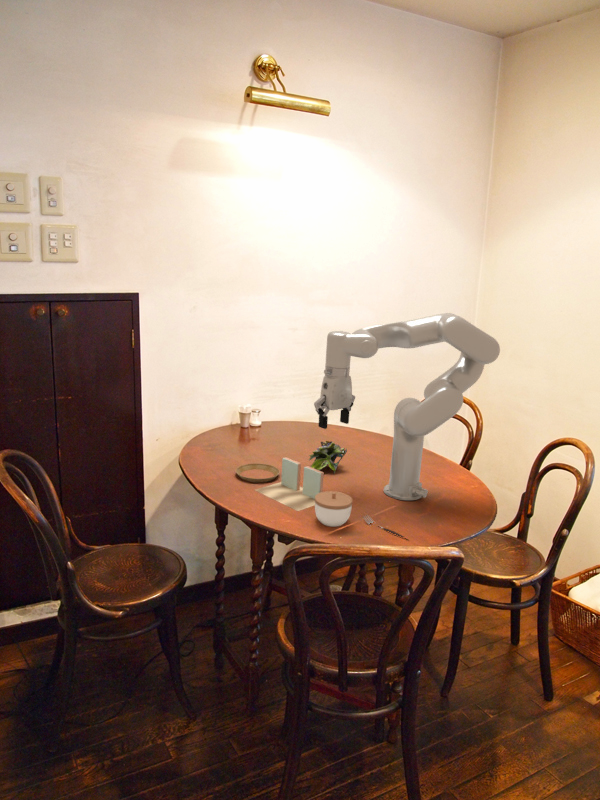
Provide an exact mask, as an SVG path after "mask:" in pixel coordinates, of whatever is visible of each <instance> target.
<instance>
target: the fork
mask: <svg viewBox="0 0 600 800" xmlns="http://www.w3.org/2000/svg"><path fill="white" fill-rule="evenodd" d="M362 518H363V519H364V520H365V522H366V523H367V524H368V525H369V524H370V523H373V522H375V520H374V519H372V517H370V515H369V514H366V515H365V516H362ZM380 527H381V528H380V529H382V528H383V529H384V531H385V530H386V531H385V532H387V531H389V532H391V533H393V534H396V535H398V536H401V537H405V536H404V535H402V534H400V533H399V532H396V531H394V530H391V529H389V528H386V527H383V526H380ZM383 529H382V530H383ZM389 532H388V533H389ZM391 533H390V534H391ZM393 534H392V535H393ZM396 535H395V536H396ZM398 536H397V537H398ZM401 537H400V538H401Z"/></svg>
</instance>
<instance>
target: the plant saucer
mask: <svg viewBox="0 0 600 800" xmlns="http://www.w3.org/2000/svg"><path fill="white" fill-rule="evenodd" d="M251 470H260V471H261V470H263V471H266V472H267V471H268V472H270V473H272V474H273V476H271V477H264V478H255V477H254V478H253V477H248V476H247V477H246V476H243V475H241V474H242V473H243V472H246V471H251ZM280 472H281V471H280V469H279V468H278V467H276V466H275V465H271V464H267V463H261V462H259V463H256V462H255V463H246V464H241V465H239V466H238V467H236V469H235V473H236V474H237V476H239V478H240V479H242V480H243V481H246V482H250V483H266V482H270V481H274V479H276V478H277V477H278V475H280V474H281V473H280Z"/></svg>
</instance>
